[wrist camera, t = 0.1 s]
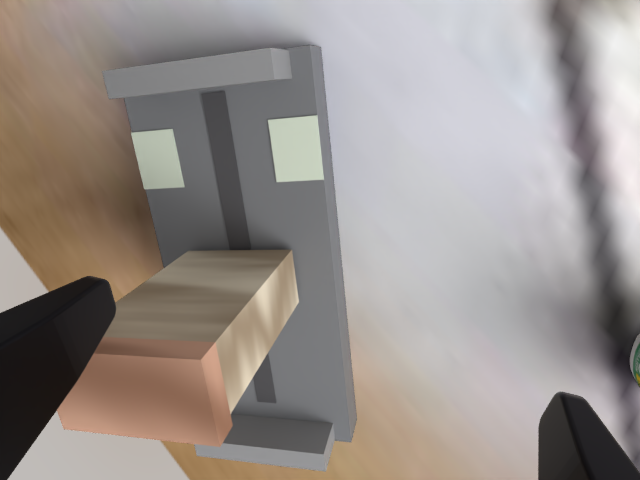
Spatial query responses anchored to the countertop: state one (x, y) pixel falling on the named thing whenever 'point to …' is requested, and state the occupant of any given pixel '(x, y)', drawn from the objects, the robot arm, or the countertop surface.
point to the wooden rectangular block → (185, 348)
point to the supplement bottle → (635, 360)
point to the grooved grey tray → (255, 224)
